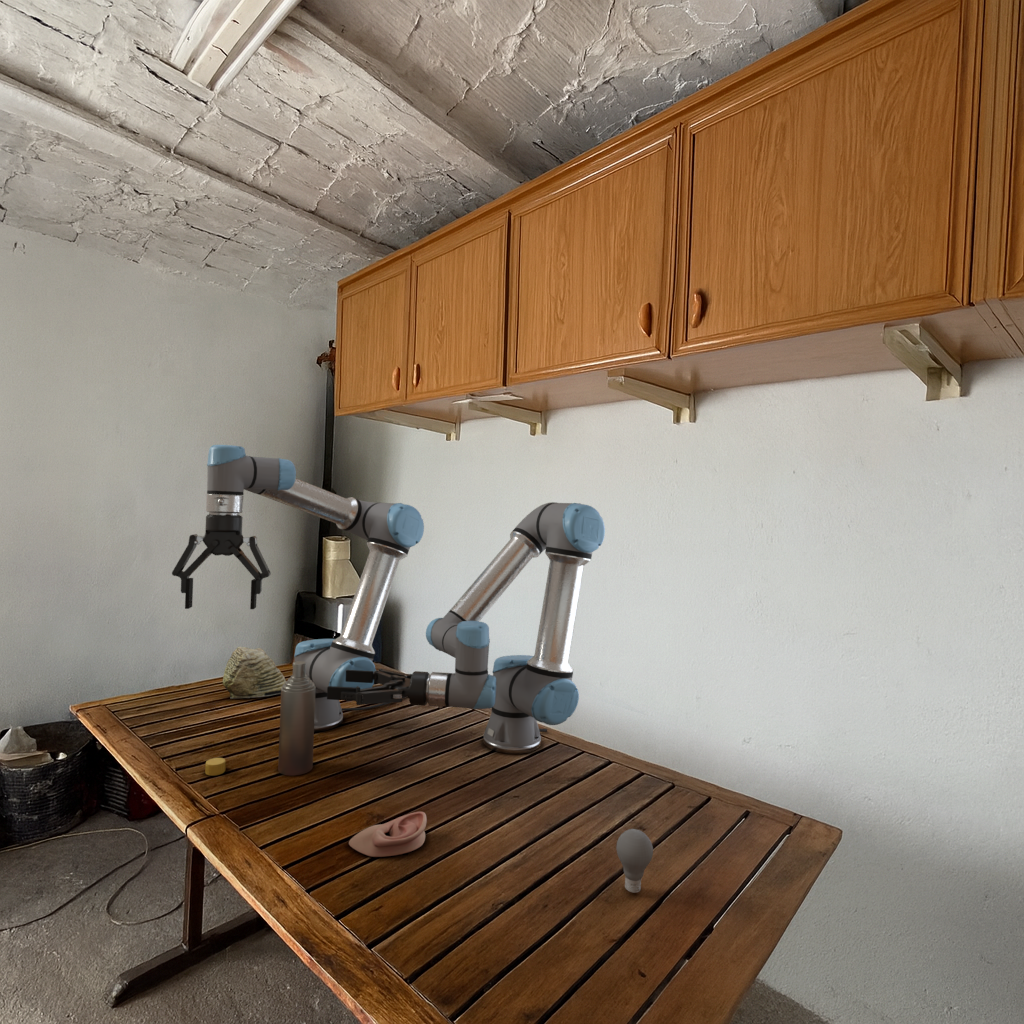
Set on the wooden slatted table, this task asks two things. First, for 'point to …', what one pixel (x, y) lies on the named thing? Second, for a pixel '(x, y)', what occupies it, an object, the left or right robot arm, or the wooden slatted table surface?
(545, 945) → the wooden slatted table surface
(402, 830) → the anatomical model
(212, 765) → the cap
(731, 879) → the wooden slatted table surface
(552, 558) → the right robot arm
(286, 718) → the bottle
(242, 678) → the fossil
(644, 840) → the light bulb
